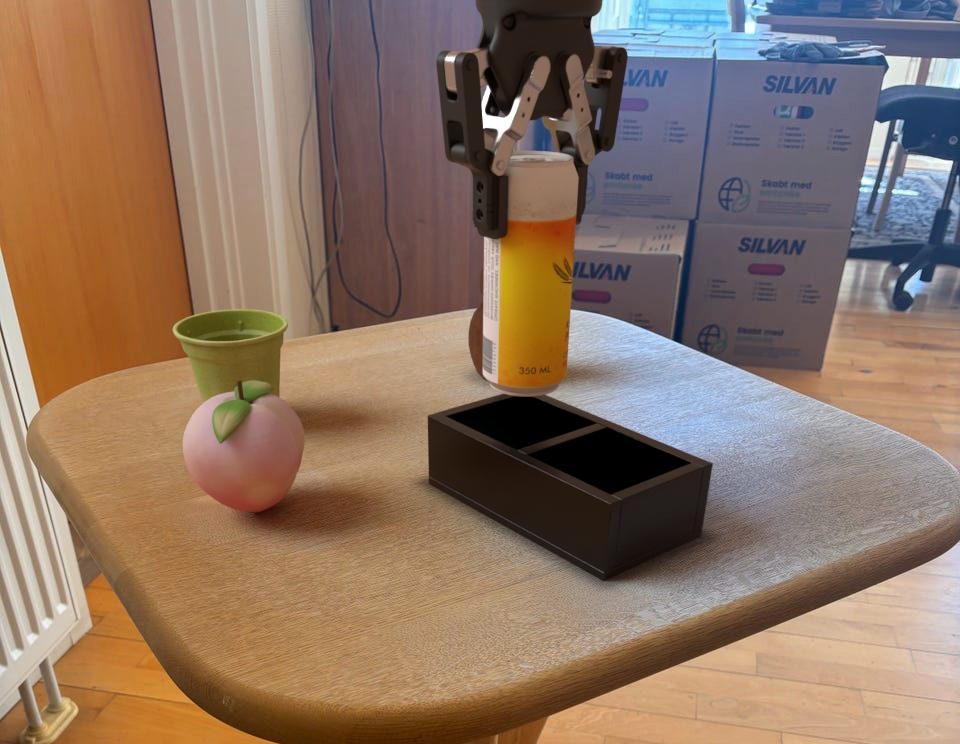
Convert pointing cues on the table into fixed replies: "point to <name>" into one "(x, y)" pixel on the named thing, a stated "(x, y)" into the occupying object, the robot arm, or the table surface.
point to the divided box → (569, 480)
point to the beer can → (531, 277)
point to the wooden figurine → (477, 332)
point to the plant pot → (232, 348)
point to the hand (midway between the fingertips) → (530, 229)
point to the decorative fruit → (244, 447)
